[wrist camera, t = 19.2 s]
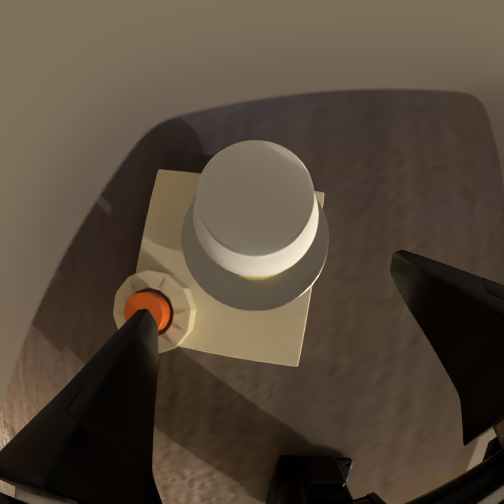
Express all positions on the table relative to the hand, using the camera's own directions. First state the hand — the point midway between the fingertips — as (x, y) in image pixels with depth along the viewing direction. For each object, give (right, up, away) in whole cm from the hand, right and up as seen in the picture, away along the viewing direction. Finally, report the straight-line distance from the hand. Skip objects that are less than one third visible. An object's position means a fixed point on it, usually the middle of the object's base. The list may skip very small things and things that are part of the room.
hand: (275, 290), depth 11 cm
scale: (-3, 0, +13) cm, 13 cm away
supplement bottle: (-1, +2, +9) cm, 10 cm away
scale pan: (-1, +2, +10) cm, 10 cm away
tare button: (-8, -3, +10) cm, 13 cm away
